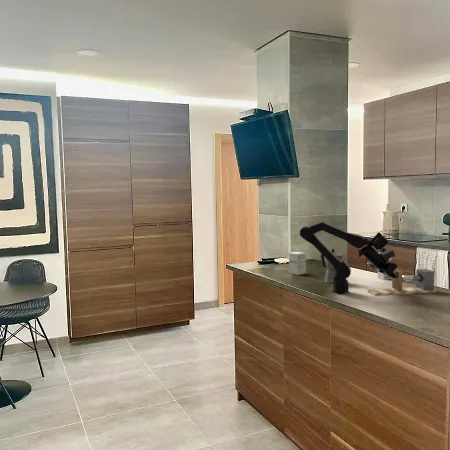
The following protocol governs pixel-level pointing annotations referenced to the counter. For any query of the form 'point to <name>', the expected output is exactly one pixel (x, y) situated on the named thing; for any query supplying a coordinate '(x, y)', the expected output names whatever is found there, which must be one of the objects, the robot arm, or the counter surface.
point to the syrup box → (383, 276)
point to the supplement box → (297, 263)
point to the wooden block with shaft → (402, 279)
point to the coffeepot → (330, 267)
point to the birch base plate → (394, 291)
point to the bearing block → (425, 279)
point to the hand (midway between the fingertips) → (394, 277)
